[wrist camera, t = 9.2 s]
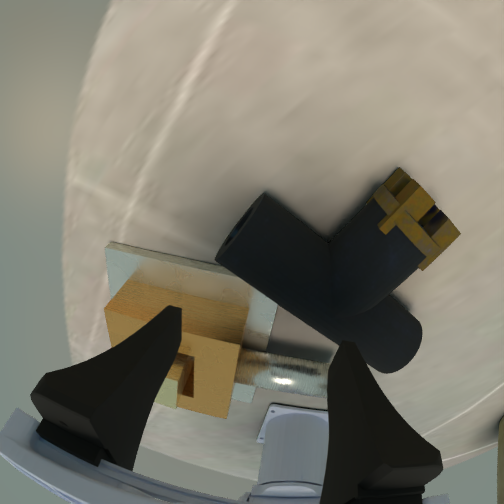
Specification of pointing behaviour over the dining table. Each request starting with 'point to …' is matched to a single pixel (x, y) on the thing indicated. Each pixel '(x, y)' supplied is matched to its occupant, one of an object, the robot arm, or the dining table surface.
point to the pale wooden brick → (175, 381)
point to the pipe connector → (345, 267)
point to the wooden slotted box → (206, 327)
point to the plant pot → (500, 464)
